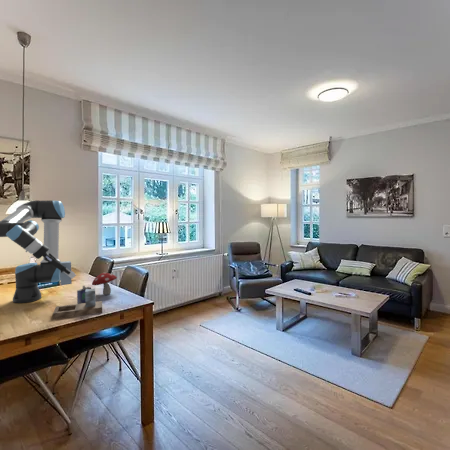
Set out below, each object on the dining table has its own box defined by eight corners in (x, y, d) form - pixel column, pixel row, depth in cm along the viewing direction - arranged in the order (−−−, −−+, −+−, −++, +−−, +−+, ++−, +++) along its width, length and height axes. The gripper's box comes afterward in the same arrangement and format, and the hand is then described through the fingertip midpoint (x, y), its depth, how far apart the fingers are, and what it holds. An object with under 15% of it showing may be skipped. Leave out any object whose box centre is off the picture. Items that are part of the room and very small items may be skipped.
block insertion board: (53, 319, 150) (52, 296, 149) (56, 311, 161) (55, 290, 160) (102, 312, 159) (101, 291, 159) (102, 305, 170) (101, 286, 170)
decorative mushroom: (97, 299, 183) (97, 276, 182) (88, 294, 194) (87, 272, 193) (121, 294, 194) (120, 272, 193) (111, 289, 205) (110, 269, 204)
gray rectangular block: (61, 285, 153) (60, 263, 152) (60, 283, 157) (59, 261, 157) (71, 283, 156) (71, 262, 155) (70, 282, 160) (70, 261, 159)
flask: (78, 305, 172) (78, 287, 171) (75, 304, 173) (75, 287, 173) (92, 301, 180) (92, 284, 179) (89, 300, 181) (89, 283, 181)
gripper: (31, 252, 155) (66, 278, 165) (31, 256, 140) (70, 284, 150) (42, 242, 157) (76, 268, 167) (43, 245, 142) (80, 273, 152)
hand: (73, 275), depth 158 cm, fingers closed on gray rectangular block, 5 cm apart
